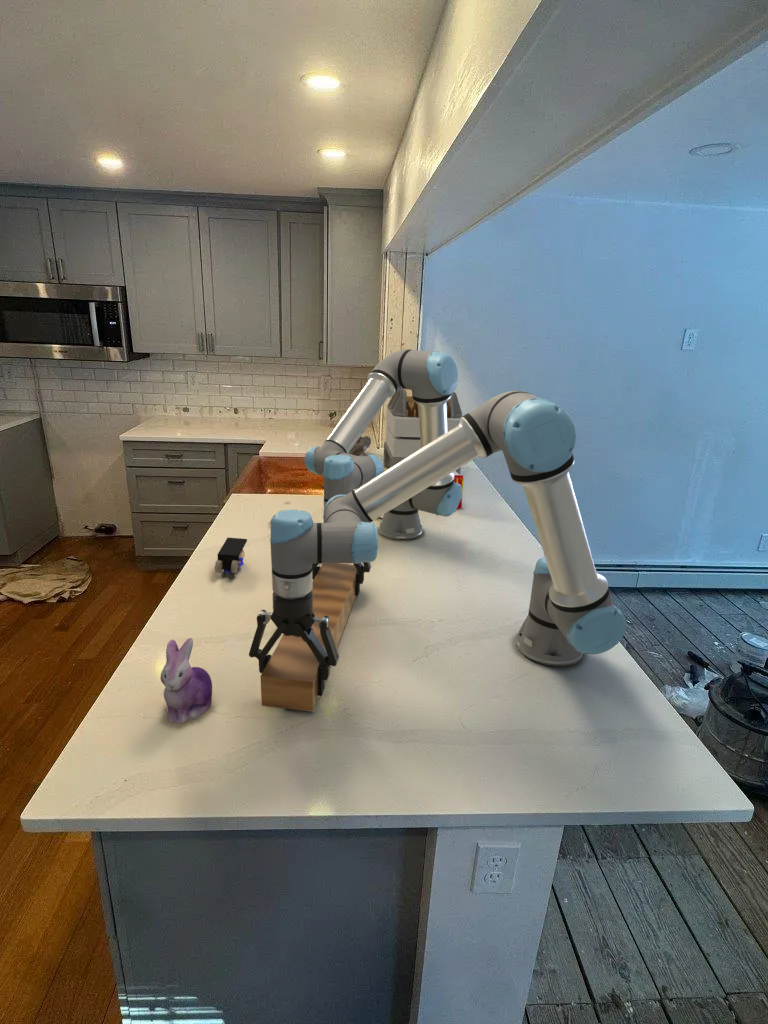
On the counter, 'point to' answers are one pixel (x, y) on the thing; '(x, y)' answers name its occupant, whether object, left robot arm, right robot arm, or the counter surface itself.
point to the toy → (459, 480)
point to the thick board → (293, 661)
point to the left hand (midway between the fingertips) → (337, 591)
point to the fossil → (361, 446)
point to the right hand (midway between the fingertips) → (294, 688)
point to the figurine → (184, 684)
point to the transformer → (410, 426)
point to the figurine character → (230, 556)
